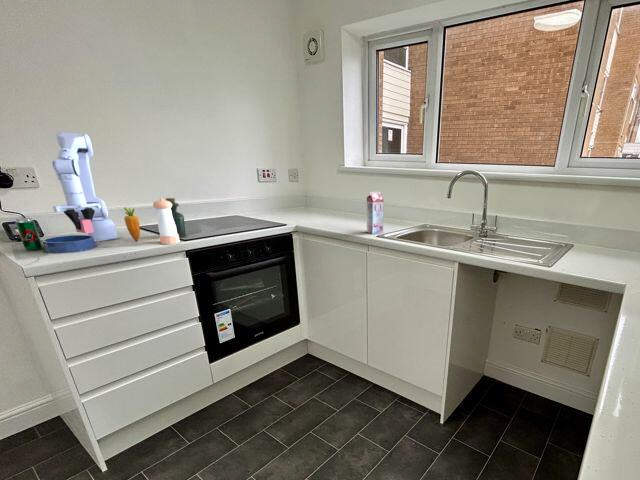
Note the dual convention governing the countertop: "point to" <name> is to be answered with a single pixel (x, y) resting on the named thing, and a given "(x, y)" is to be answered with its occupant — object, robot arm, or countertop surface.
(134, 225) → the carrot
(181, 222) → the green spray bottle
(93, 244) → the bowl
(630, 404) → the countertop surface
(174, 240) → the pepper shaker
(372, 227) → the juice carton
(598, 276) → the countertop surface
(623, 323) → the countertop surface
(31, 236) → the soda can
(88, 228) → the eraser
